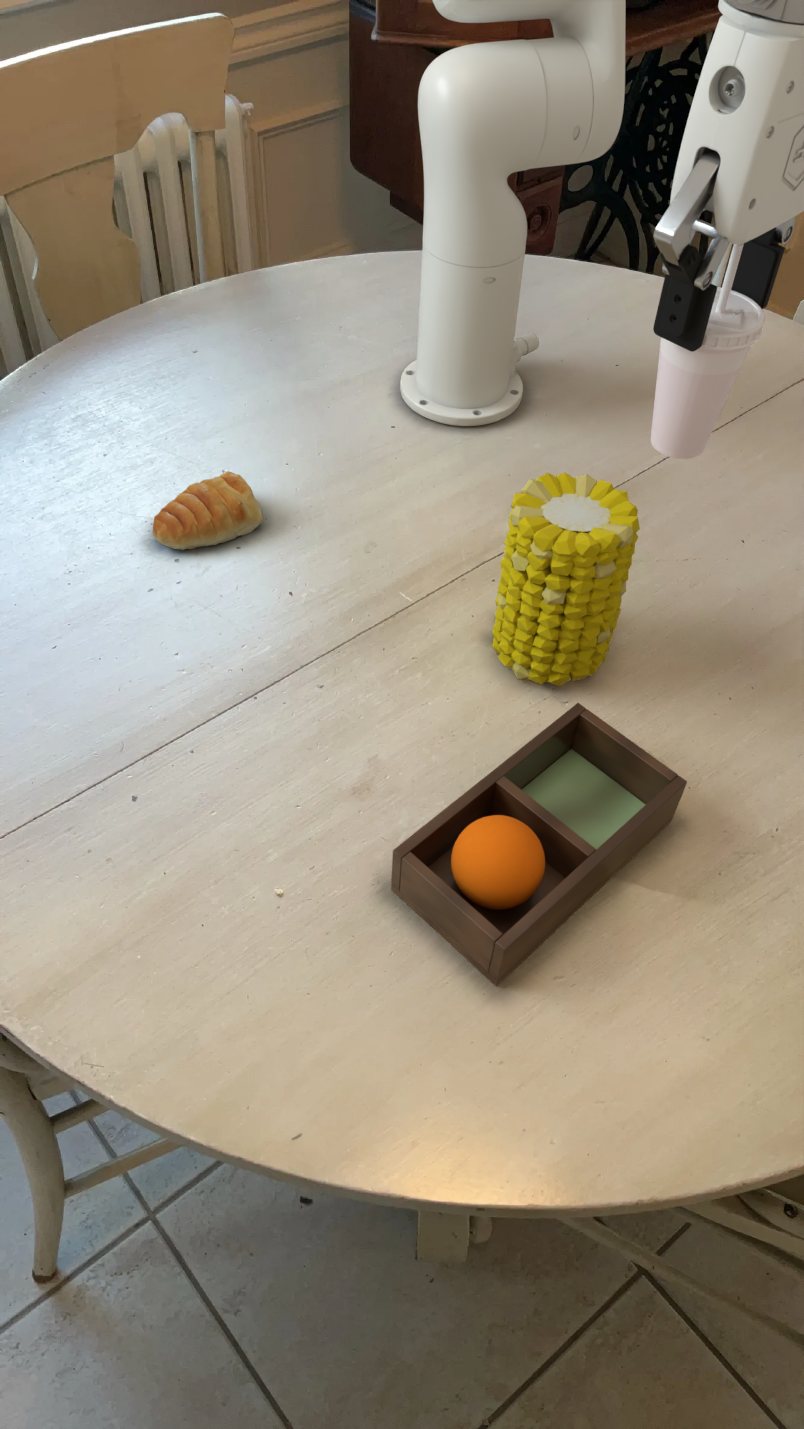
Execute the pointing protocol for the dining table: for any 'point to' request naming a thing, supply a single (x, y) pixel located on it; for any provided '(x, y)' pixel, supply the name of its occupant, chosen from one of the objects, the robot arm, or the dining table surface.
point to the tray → (542, 836)
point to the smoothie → (703, 371)
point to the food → (563, 577)
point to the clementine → (498, 862)
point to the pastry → (208, 513)
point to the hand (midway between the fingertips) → (710, 318)
